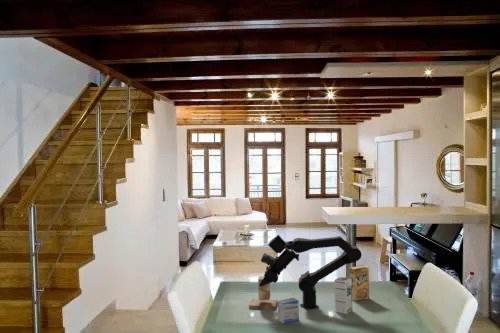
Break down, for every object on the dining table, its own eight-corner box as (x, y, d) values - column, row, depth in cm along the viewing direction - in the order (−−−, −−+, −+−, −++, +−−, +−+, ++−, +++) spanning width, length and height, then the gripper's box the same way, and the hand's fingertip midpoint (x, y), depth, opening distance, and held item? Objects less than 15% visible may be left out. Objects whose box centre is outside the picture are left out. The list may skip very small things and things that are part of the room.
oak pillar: (270, 296, 204) (269, 276, 204) (269, 300, 199) (269, 279, 199) (259, 296, 205) (259, 276, 205) (258, 299, 200) (258, 279, 200)
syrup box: (347, 314, 190) (346, 281, 189) (334, 311, 193) (334, 279, 193) (352, 310, 194) (352, 278, 194) (340, 308, 198) (339, 276, 197)
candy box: (354, 301, 206) (354, 269, 206) (349, 298, 210) (348, 266, 210) (369, 298, 210) (369, 266, 209) (364, 296, 214) (363, 264, 213)
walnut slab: (277, 304, 206) (277, 299, 206) (275, 310, 197) (275, 306, 197) (252, 303, 208) (252, 298, 208) (249, 309, 199) (248, 305, 199)
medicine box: (283, 324, 180) (282, 303, 180) (277, 320, 184) (277, 300, 184) (299, 320, 184) (298, 300, 183) (293, 317, 188) (293, 297, 187)
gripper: (272, 243, 210) (250, 266, 212) (269, 252, 192) (245, 277, 193) (289, 260, 210) (266, 282, 211) (287, 270, 191) (263, 295, 193)
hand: (260, 284), depth 202 cm, fingers closed on oak pillar, 5 cm apart
